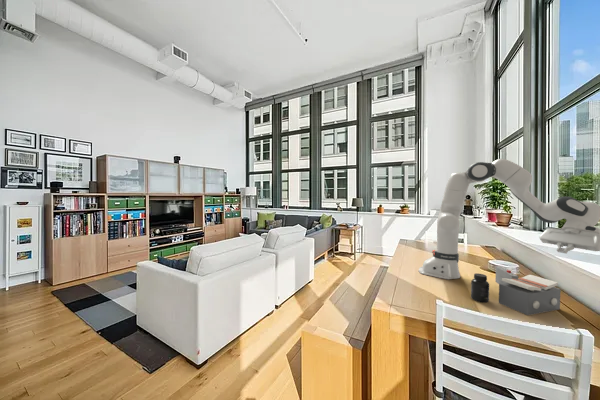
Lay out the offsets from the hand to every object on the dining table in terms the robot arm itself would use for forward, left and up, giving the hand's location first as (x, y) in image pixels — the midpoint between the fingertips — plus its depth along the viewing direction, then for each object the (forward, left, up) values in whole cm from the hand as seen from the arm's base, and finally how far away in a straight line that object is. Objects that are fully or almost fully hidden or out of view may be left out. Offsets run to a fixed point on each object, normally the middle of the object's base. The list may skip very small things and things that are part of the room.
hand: (561, 251), depth 108 cm
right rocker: (-11, -11, -14) cm, 21 cm away
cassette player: (-18, +8, -24) cm, 31 cm away
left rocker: (-19, -19, -14) cm, 30 cm away
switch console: (-15, -15, -23) cm, 31 cm away
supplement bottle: (-33, -18, -24) cm, 44 cm away
